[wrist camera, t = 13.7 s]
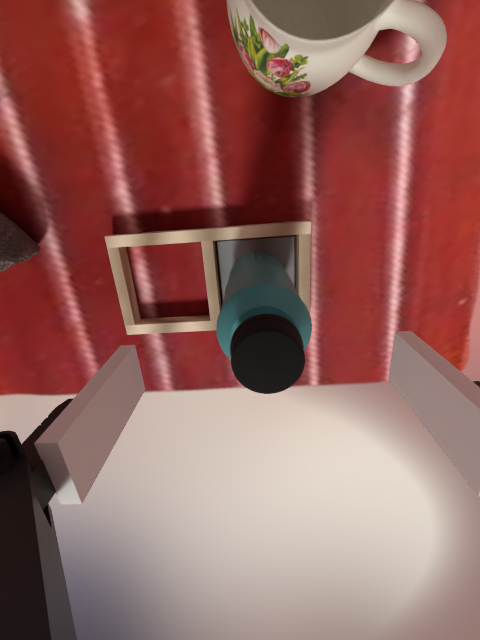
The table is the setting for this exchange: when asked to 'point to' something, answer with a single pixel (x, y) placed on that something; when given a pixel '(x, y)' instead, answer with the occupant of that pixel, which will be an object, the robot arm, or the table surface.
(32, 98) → the table surface
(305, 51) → the pitcher
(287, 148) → the table surface
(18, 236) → the perforated stone tool
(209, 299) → the bottle rack
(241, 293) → the beverage bottle
